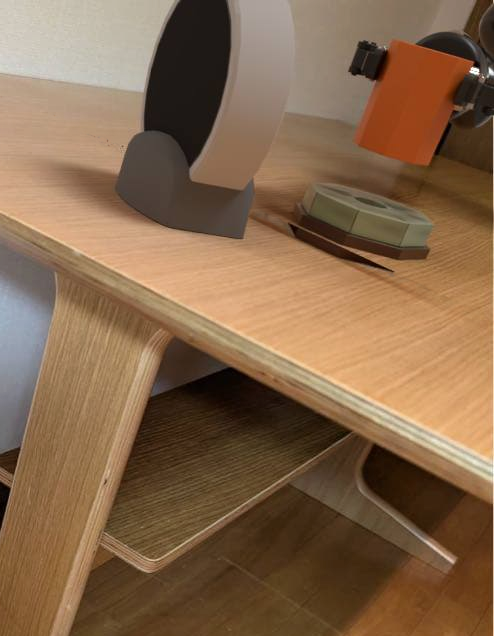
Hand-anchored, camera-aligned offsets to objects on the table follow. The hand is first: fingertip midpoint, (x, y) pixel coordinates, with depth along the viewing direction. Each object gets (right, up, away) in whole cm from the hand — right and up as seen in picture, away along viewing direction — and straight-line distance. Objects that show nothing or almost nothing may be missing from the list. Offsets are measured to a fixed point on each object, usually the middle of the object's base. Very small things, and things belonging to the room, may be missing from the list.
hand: (417, 77), depth 66 cm
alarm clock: (-19, -9, +5) cm, 22 cm away
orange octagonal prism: (0, -4, +5) cm, 6 cm away
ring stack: (-2, -10, +10) cm, 14 cm away
